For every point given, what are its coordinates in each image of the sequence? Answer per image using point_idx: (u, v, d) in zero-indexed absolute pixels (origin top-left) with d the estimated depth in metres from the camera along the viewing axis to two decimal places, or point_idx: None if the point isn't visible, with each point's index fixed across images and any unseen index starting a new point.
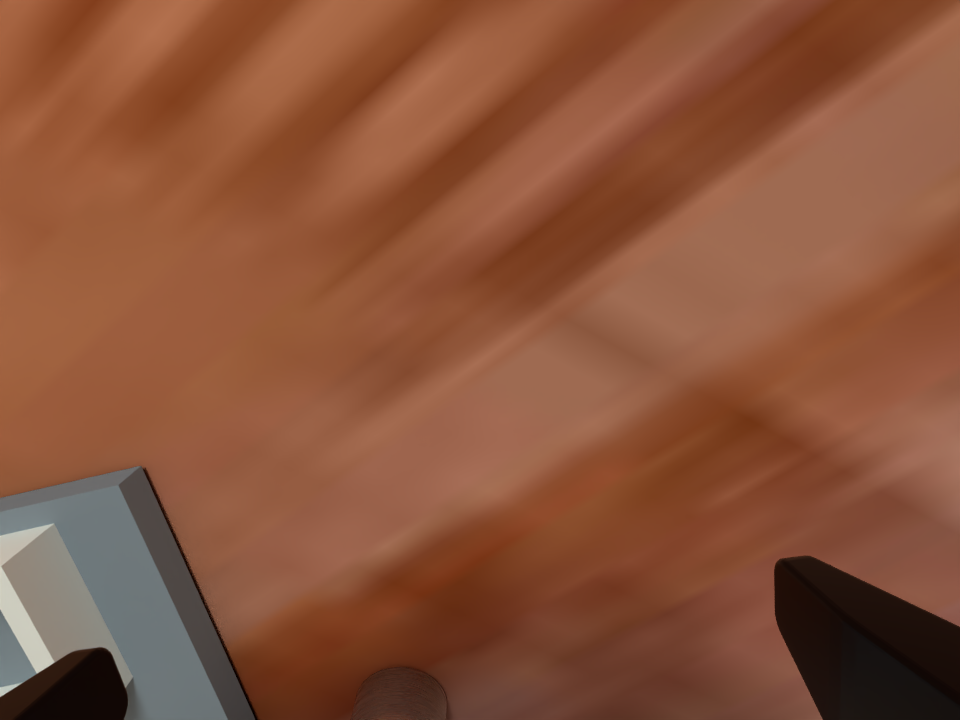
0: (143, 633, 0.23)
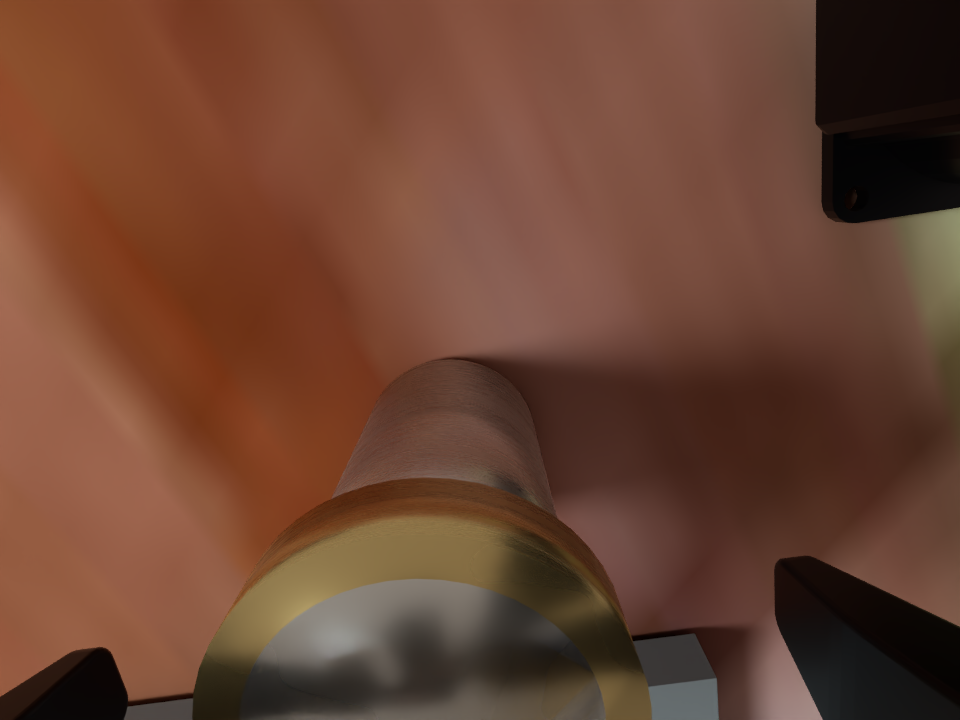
0: None
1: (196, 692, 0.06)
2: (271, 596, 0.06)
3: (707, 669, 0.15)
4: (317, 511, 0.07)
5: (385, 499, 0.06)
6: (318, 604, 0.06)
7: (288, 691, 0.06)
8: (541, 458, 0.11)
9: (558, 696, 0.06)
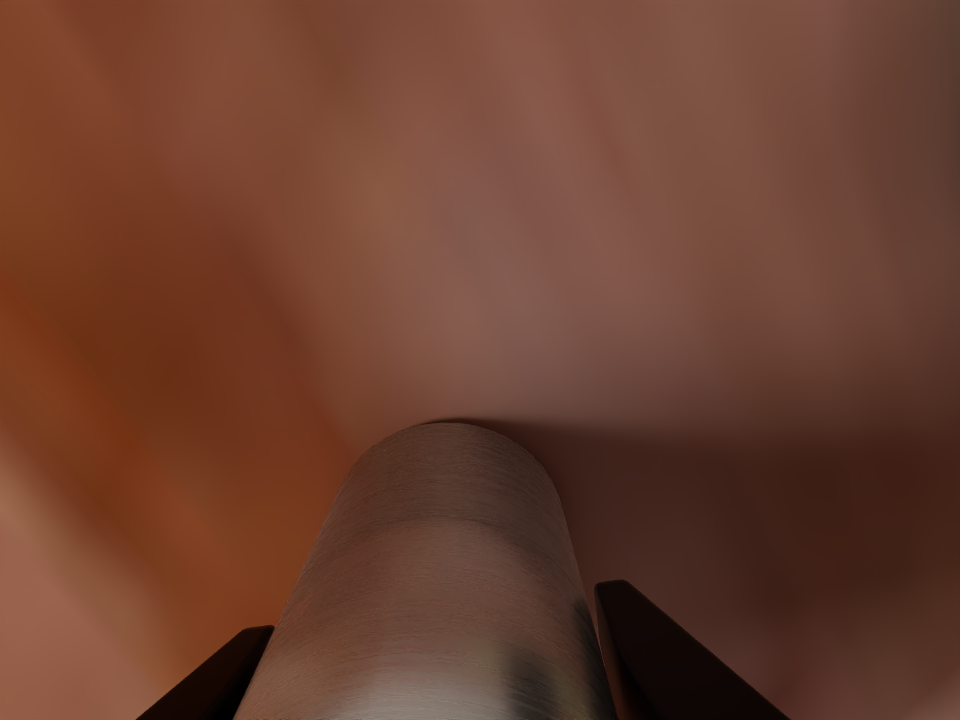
0: None
1: None
2: None
3: None
4: None
5: None
6: None
7: None
8: (583, 593, 0.07)
9: None
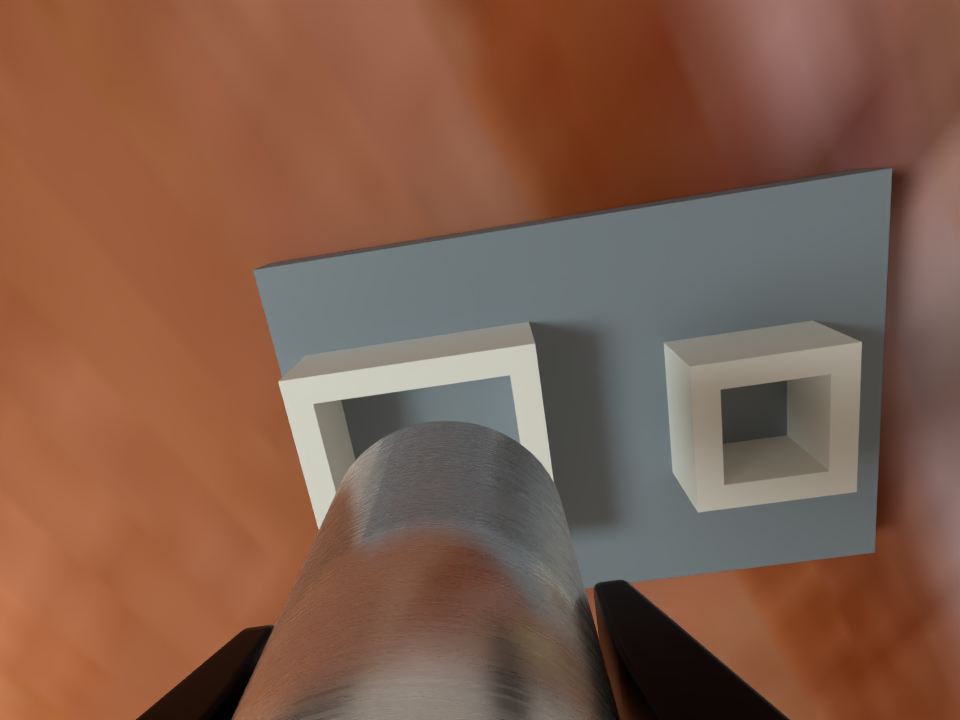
0: (463, 292, 0.18)
1: None
2: None
3: (881, 168, 0.17)
4: None
5: None
6: None
7: None
8: (584, 591, 0.07)
9: None
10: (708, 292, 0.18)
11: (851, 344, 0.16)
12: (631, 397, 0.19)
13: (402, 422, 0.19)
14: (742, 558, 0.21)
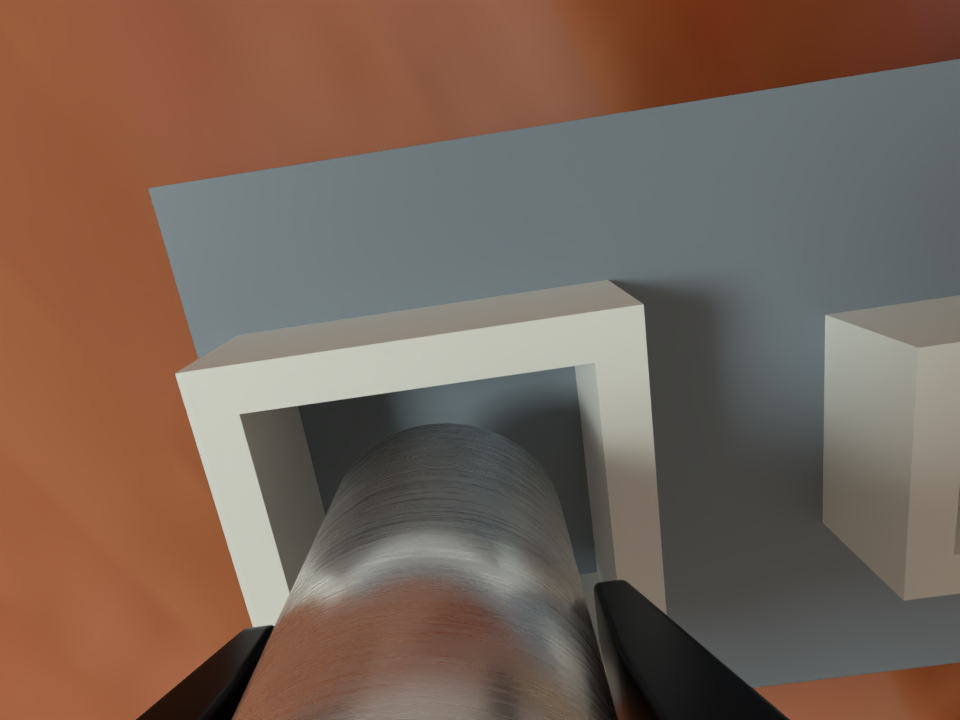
0: (501, 229, 0.11)
1: None
2: None
3: None
4: None
5: None
6: None
7: None
8: (583, 595, 0.07)
9: None
10: (904, 230, 0.11)
11: None
12: (766, 404, 0.12)
13: None
14: (918, 652, 0.14)
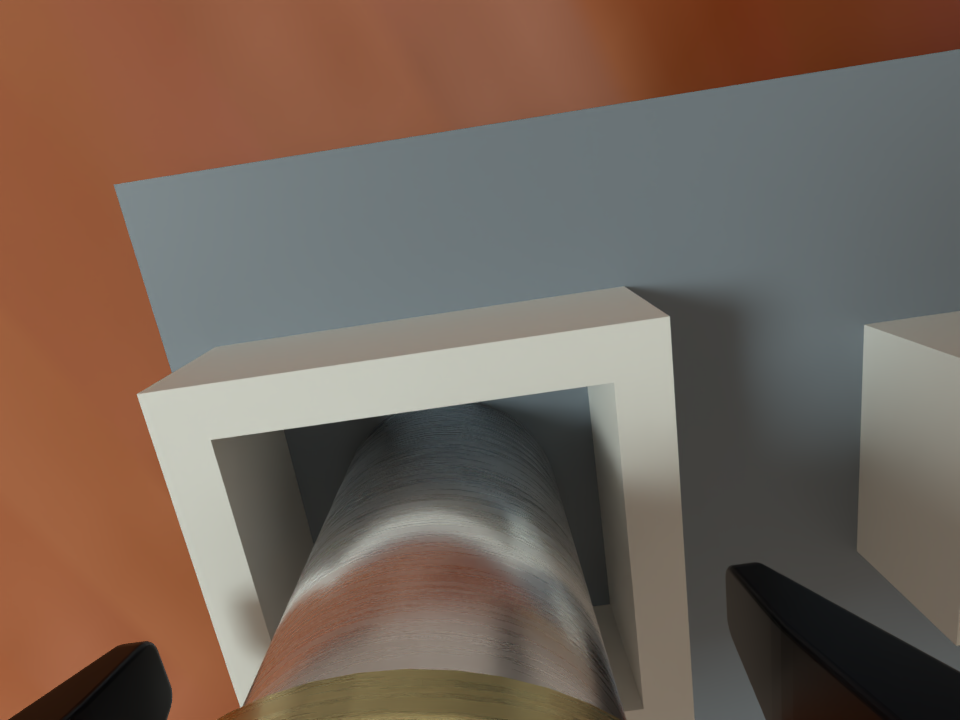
0: (505, 230, 0.10)
1: None
2: None
3: None
4: None
5: None
6: None
7: None
8: (573, 542, 0.08)
9: None
10: (954, 231, 0.10)
11: None
12: (797, 422, 0.11)
13: None
14: None
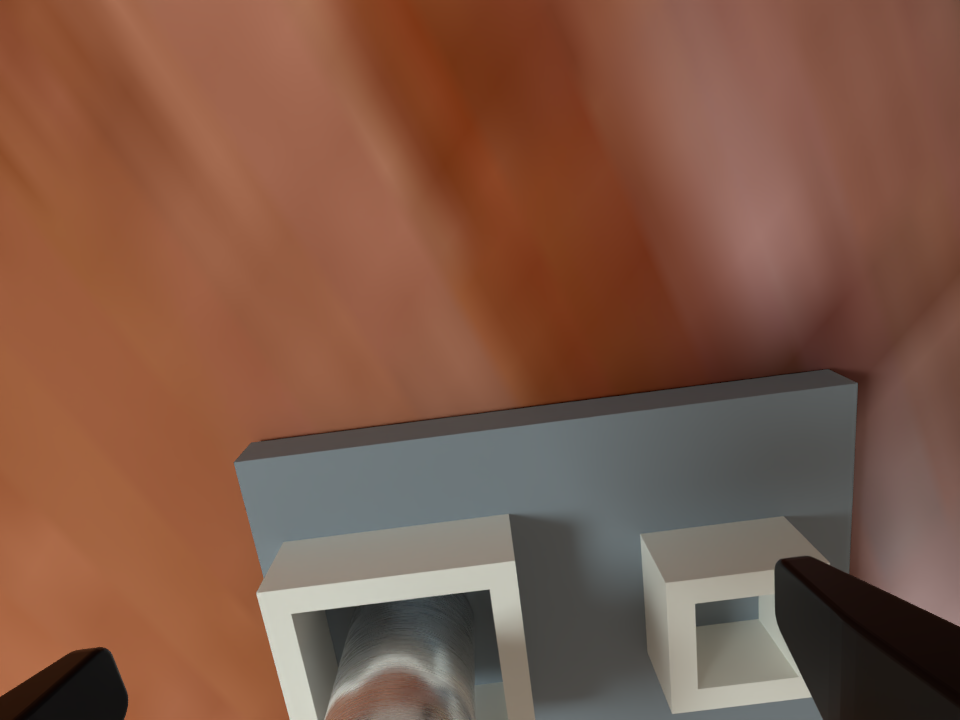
0: (444, 486, 0.18)
1: None
2: None
3: (848, 380, 0.18)
4: None
5: None
6: None
7: None
8: (470, 664, 0.17)
9: None
10: (683, 489, 0.18)
11: None
12: (607, 583, 0.19)
13: None
14: None
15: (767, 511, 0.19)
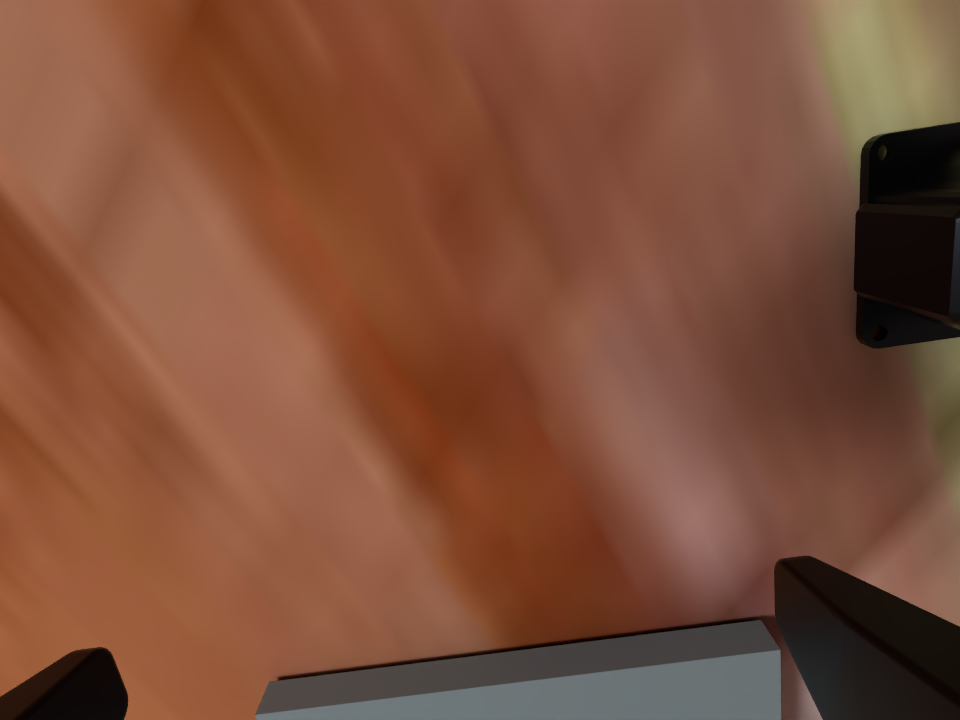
0: None
1: None
2: None
3: (773, 644, 0.21)
4: None
5: None
6: None
7: None
8: None
9: None
10: None
11: None
12: None
13: None
14: None
15: None
